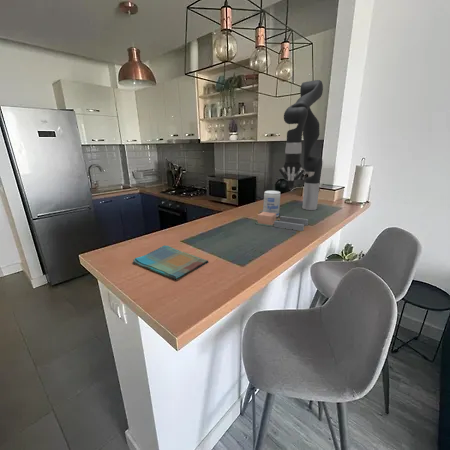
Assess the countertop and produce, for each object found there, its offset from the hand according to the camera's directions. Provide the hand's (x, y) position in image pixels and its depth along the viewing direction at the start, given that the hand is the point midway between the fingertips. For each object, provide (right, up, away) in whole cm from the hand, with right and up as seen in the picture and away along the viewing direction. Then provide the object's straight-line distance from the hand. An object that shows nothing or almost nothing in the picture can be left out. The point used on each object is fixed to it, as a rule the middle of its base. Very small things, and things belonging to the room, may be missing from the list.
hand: (290, 187), depth 126 cm
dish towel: (-54, -34, -33) cm, 72 cm away
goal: (-10, -17, +12) cm, 23 cm away
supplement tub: (-6, -14, +24) cm, 28 cm away
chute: (+2, -19, +6) cm, 20 cm away
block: (-10, -18, +12) cm, 24 cm away
